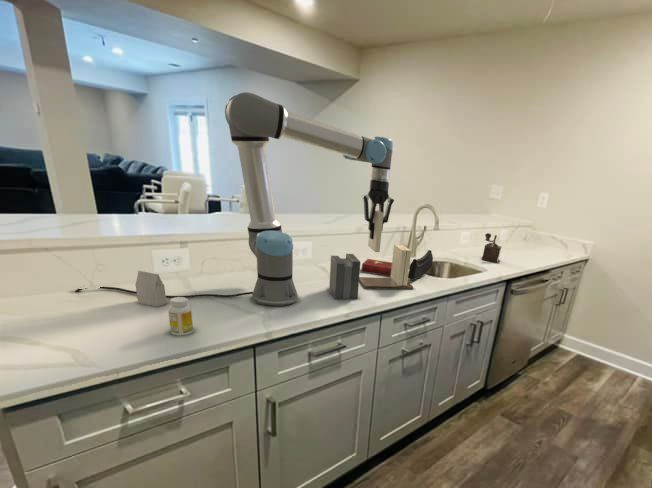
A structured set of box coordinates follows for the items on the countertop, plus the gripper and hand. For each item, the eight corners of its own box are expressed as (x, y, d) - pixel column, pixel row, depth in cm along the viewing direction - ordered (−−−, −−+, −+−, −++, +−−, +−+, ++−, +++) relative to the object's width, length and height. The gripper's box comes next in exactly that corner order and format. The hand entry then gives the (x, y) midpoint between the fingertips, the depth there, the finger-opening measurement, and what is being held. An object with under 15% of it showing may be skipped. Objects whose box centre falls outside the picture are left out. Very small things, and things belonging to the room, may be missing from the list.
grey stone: (157, 306, 119) (152, 275, 115) (138, 302, 120) (133, 271, 116) (166, 303, 123) (162, 273, 119) (147, 299, 123) (143, 269, 120)
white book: (375, 252, 159) (378, 212, 153) (368, 245, 168) (371, 208, 162) (379, 252, 160) (383, 213, 154) (372, 246, 169) (375, 208, 163)
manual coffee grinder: (482, 256, 262) (488, 230, 254) (498, 260, 259) (504, 233, 252) (479, 260, 248) (485, 233, 241) (496, 264, 245) (502, 236, 238)
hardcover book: (403, 278, 186) (404, 269, 185) (361, 271, 187) (362, 263, 185) (406, 272, 197) (407, 264, 196) (366, 266, 198) (367, 258, 196)
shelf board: (365, 288, 163) (365, 286, 163) (358, 279, 174) (358, 277, 174) (412, 289, 172) (413, 286, 171) (403, 280, 183) (403, 278, 182)
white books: (397, 285, 170) (402, 250, 163) (390, 278, 179) (394, 244, 173) (406, 285, 171) (411, 250, 165) (398, 278, 180) (402, 244, 174)
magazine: (414, 264, 176) (434, 238, 198) (407, 263, 177) (428, 237, 199) (413, 295, 187) (432, 267, 209) (407, 294, 188) (426, 266, 210)
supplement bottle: (169, 336, 103) (165, 303, 99) (172, 328, 108) (168, 296, 104) (192, 335, 105) (189, 302, 102) (194, 327, 110) (191, 295, 106)
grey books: (334, 299, 147) (337, 260, 141) (329, 288, 157) (331, 252, 151) (357, 298, 150) (360, 261, 144) (350, 289, 160) (353, 253, 154)
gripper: (364, 178, 147) (359, 239, 156) (400, 183, 153) (394, 241, 162) (359, 176, 153) (355, 235, 163) (394, 181, 159) (388, 237, 168)
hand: (374, 238), depth 162 cm, fingers closed on white book, 2 cm apart
